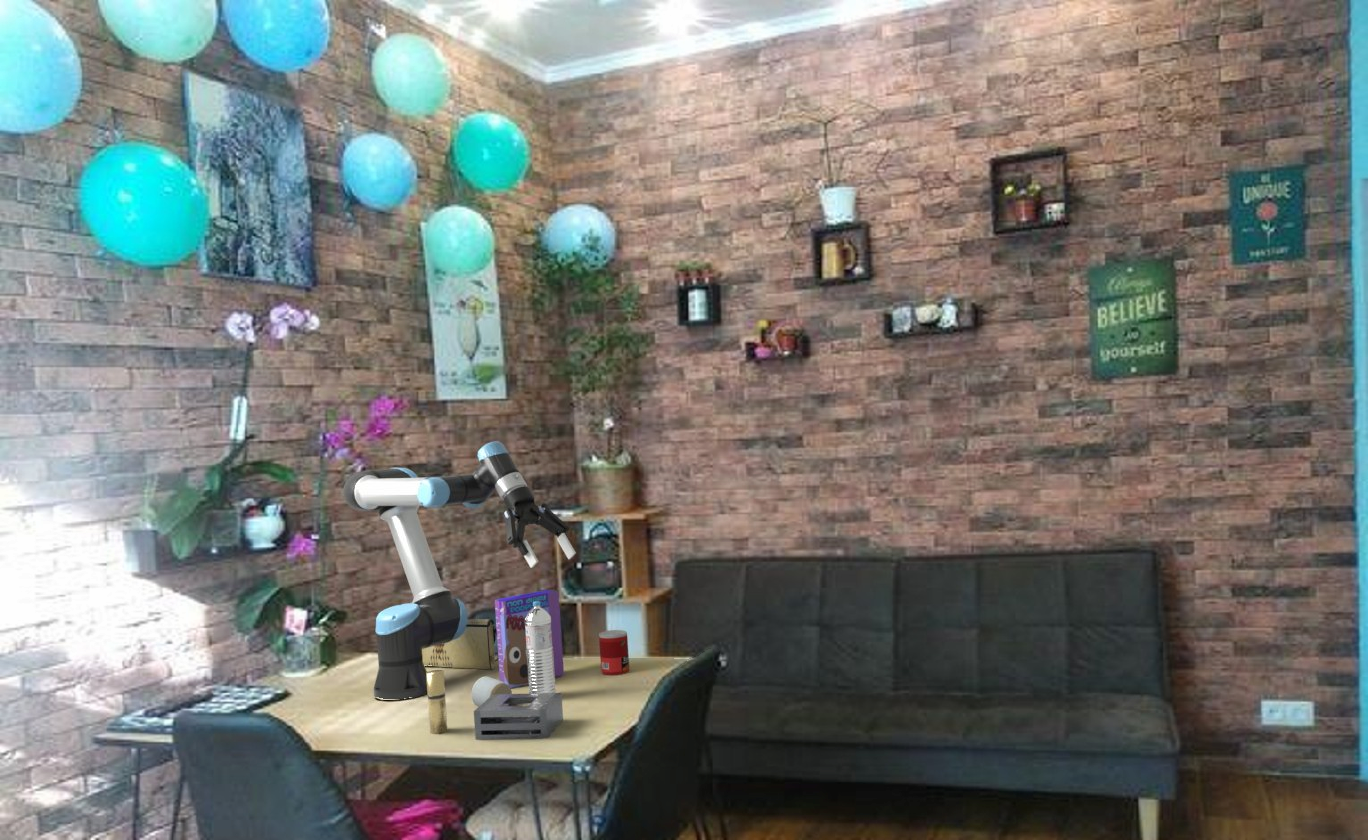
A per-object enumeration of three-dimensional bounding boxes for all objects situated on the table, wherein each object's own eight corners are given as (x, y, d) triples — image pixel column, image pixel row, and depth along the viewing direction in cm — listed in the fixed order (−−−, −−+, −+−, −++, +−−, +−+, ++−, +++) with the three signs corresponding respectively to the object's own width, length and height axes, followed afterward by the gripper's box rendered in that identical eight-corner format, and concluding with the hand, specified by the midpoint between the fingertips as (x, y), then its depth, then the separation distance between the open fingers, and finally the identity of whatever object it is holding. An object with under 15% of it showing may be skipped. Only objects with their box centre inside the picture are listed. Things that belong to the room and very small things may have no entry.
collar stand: (475, 739, 220) (473, 710, 220) (494, 721, 233) (493, 694, 233) (547, 737, 218) (545, 709, 218) (563, 719, 231) (561, 692, 231)
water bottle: (550, 701, 246) (544, 604, 246) (525, 702, 248) (519, 604, 248) (559, 694, 253) (553, 598, 253) (535, 694, 255) (528, 599, 255)
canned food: (628, 674, 268) (625, 634, 268) (599, 676, 268) (597, 636, 268) (630, 667, 276) (628, 628, 276) (602, 669, 276) (600, 630, 276)
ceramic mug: (491, 715, 238) (490, 684, 238) (471, 710, 244) (469, 679, 244) (525, 704, 246) (523, 674, 246) (504, 700, 252) (503, 670, 252)
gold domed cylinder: (427, 734, 227) (423, 674, 227) (434, 728, 231) (430, 669, 231) (443, 733, 226) (439, 674, 226) (450, 728, 230) (446, 669, 230)
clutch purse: (508, 665, 289) (505, 615, 289) (495, 671, 282) (492, 620, 282) (425, 662, 299) (422, 614, 299) (411, 668, 293) (407, 618, 293)
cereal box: (508, 689, 261) (502, 600, 261) (500, 686, 265) (494, 598, 265) (564, 675, 272) (558, 590, 272) (555, 672, 276) (549, 588, 276)
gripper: (486, 489, 242) (525, 559, 235) (556, 480, 262) (595, 544, 255) (471, 507, 246) (509, 576, 238) (541, 497, 266) (579, 560, 258)
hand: (553, 560), depth 246 cm, fingers open, 13 cm apart
